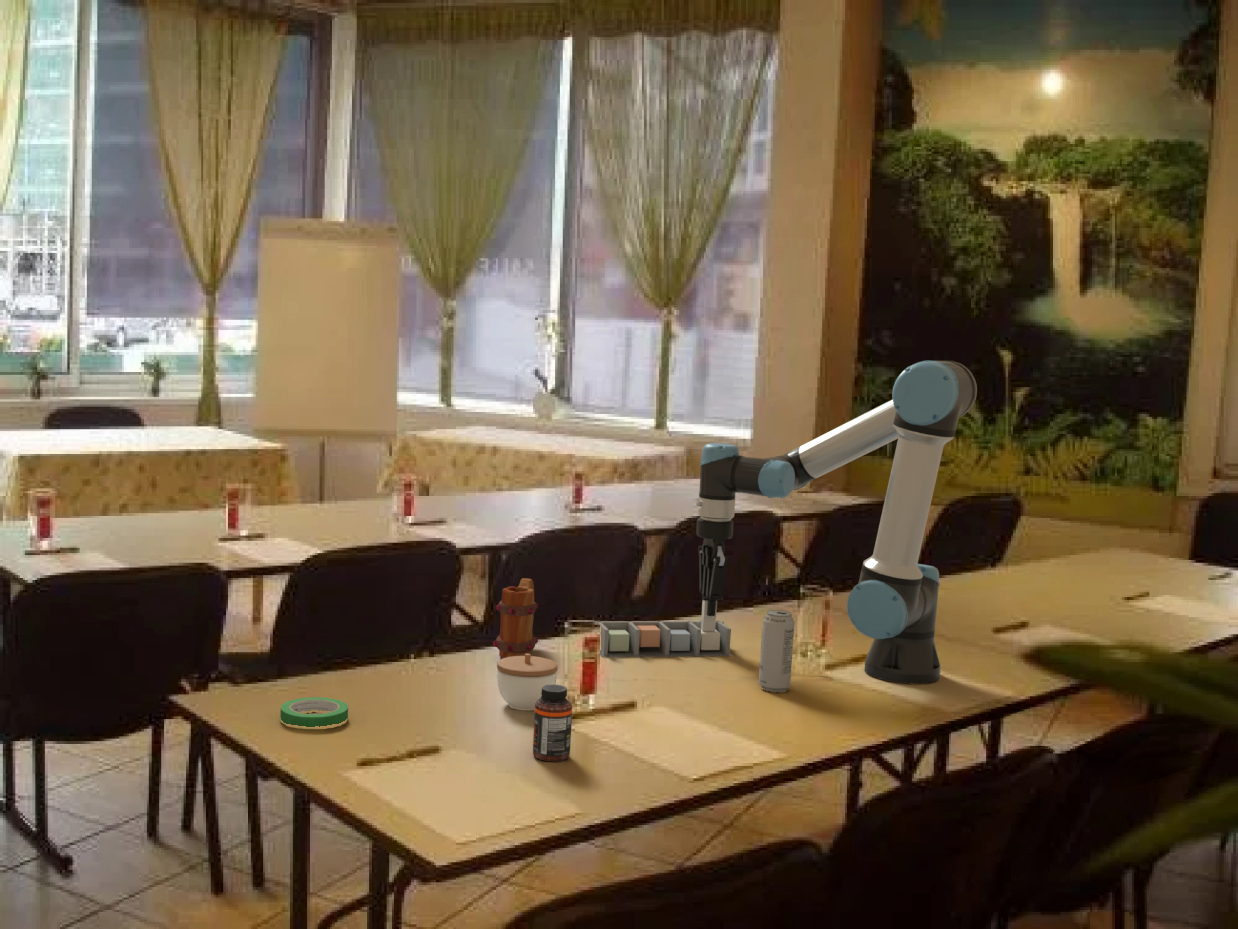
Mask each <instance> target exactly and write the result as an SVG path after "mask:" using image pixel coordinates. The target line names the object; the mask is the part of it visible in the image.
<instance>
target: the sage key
mask: <svg viewBox="0 0 1238 929" xmlns="http://www.w3.org/2000/svg"><path fill="white" fill-rule="evenodd" d="M629 636H630V634H629V633H628V632H627V631H626V630H609V636H608V650H609V651H629Z"/></svg>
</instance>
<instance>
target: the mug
mask: <svg viewBox="0 0 1238 929" xmlns="http://www.w3.org/2000/svg"><path fill="white" fill-rule="evenodd" d="M534 585H535V584H534V581H533V579H531V578H523V577H522V578H521V579H520V581H519V584H518V586H517V587H516V586H507V587H505V588H503V589H502V591H501V600H500V601H499V603H498V604H497V605H496V606H495V609H496V611H498V612H500V632H499V635H498V636H497V637H496V639H495V640H494V641H493V642H492V645H493V646H494V647H495V648H496V649H497V650H498V651H499V654H498V655H499V657H500V658H501V659H503V658H507V657H512V656H525V654H531V655H532V652H533V650H534V648H535V647H536V645H537V644H538V642H539V639H538V638H537V637H535V636H534V635H533V627H534V626H533V625H534V616H535V615H534V614H535V612H536V611H537V609H538V608H539V604H538V603H536V602H535V586H534Z"/></svg>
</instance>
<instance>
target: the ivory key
mask: <svg viewBox="0 0 1238 929" xmlns="http://www.w3.org/2000/svg"><path fill="white" fill-rule="evenodd" d="M720 634H721V633H719V632H718V631H717V630H715V631H702V630H701V638H700V650H719V649H720Z"/></svg>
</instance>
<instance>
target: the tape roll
mask: <svg viewBox="0 0 1238 929" xmlns="http://www.w3.org/2000/svg"><path fill="white" fill-rule="evenodd" d="M311 710H318V711H320V710H321V711H331V712H328V713H309V714H305V713H299V712H301V711H311ZM279 717H280V718H281V720H282V721H283V722H284V723H286V724H291V725H298V726H306V727H315V726H319V727H320V726H327V725H332V724H339V723H341V722H343V721H345V720H346V719H347V718H348V719H349V705H348V704H347V703H346V702H345V701H342V700H339V699H335V698H331V697H324V696H323V697H320V696H319V697H318V696H317V697H314V696H311V697H310V696H309V697H301V698H300V697H299V698H296V699H295V698H294V699H291V700H288V701H286V702H284V703H283V704H281V706H280V716H279ZM280 718H279V719H280Z"/></svg>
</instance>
